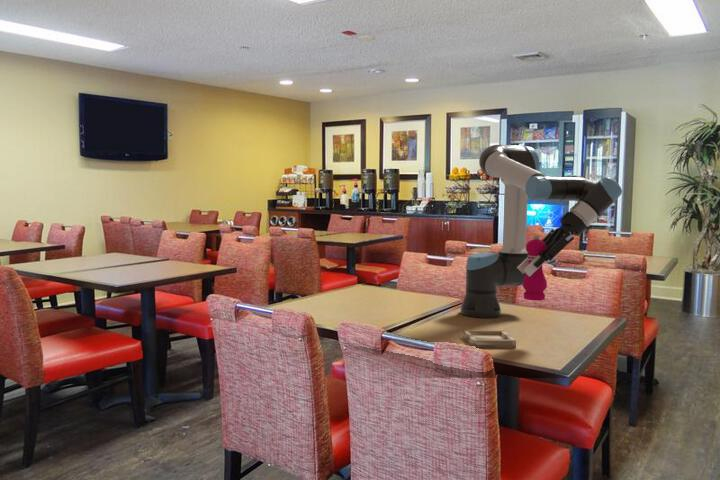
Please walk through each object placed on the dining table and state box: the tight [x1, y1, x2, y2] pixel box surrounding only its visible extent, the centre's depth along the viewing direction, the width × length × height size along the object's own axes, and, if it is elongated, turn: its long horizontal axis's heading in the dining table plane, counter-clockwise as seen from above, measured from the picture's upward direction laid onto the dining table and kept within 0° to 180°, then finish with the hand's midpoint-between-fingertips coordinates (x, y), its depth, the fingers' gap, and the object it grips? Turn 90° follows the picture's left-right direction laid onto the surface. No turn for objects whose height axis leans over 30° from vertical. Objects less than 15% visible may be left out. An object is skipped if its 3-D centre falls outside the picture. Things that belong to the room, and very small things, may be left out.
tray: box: [462, 329, 517, 349], centre depth 177 cm, size 13×13×2 cm
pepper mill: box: [522, 234, 548, 301], centre depth 175 cm, size 7×7×20 cm
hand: (523, 272), depth 175 cm, fingers closed on pepper mill, 5 cm apart
